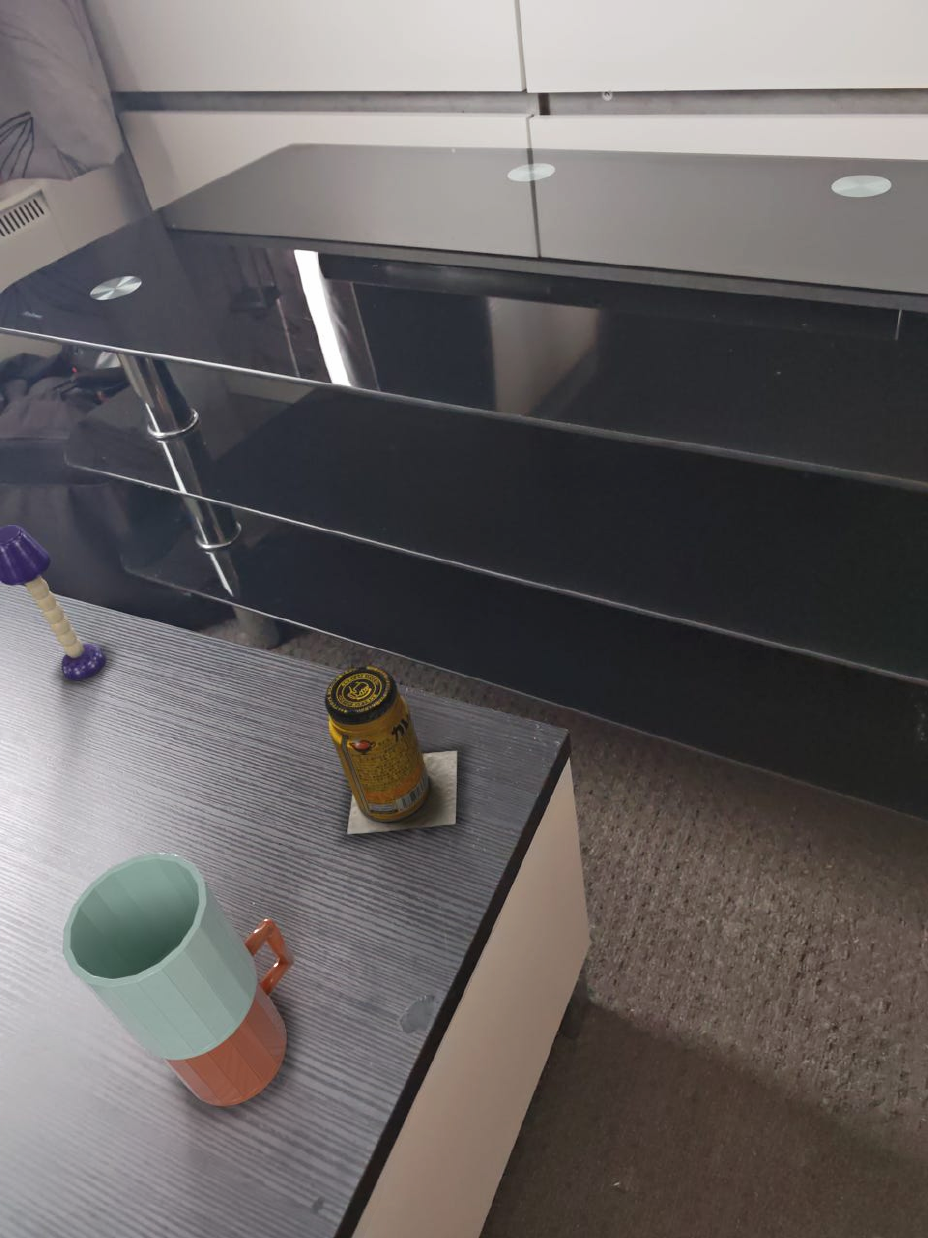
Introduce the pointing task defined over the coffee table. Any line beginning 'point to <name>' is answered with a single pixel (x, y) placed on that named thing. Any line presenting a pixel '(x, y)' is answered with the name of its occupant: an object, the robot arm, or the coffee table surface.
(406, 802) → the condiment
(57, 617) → the toy lamp
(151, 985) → the cup
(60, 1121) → the coffee table surface
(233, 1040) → the mug
